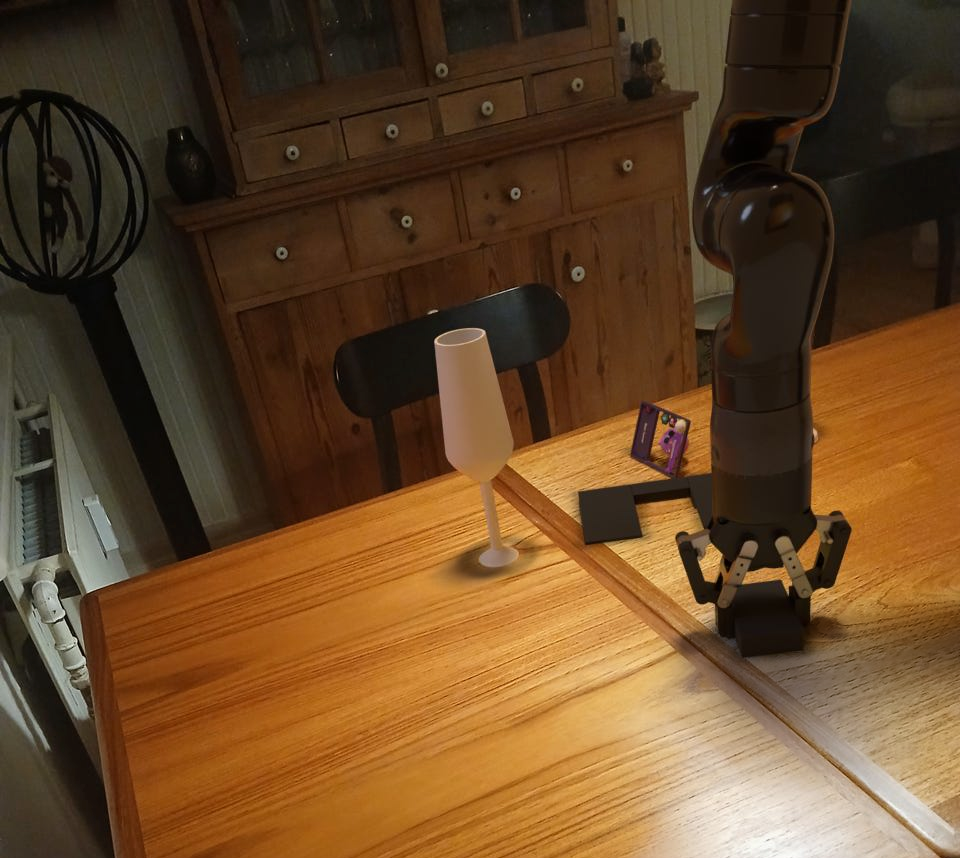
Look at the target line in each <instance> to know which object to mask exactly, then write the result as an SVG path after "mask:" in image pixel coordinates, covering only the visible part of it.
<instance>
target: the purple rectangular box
mask: <svg viewBox="0 0 960 858" xmlns="http://www.w3.org/2000/svg"><path fill="white" fill-rule="evenodd" d="M660 412H661V416H660ZM659 417H660V419H661V420H660V421H661V424H663V425H664V426H667V425H668V428H667V430H666V431H665V432H664V433H663V435H662V436H661V438H660V441H659V442H657V445H658V446H660V448H661V450H662V452H663V453H664V454H665V455H666V456H667V457H669V460H668V464H667V468H664V467H662V466H660V465H658V464H656V463H655V462H652V461H650V458H651V453H652V449H653V446H654V440H655V436H656V430H657V426H658V421H659ZM691 422H692V421H691V419H689V418H687V417H685V416H682V415H680V414H678V413H675V412H673V411H670V410H667V409H665V408H663V407H661V406H658V405H656V404H653V403H651V402H648V401H646V400H641V401H640V405H639V410H638V415H637V420H636V424H635V429H634V434H633V439H632V443H631V448H630V453H629V455H630V457H631V458H633V459H635V460H636V461H638V462H641V463H643V464H644V465H647V466H649V467H650V468H653V469H655V470H656V471H659V472H660V473H663V474H665V475H667V476H668V477H670V478H671V479H672V478H679V475H680V471H681V467H682V461H683V458H684V455H685V454H686V453H687V451H688V450H689V446H690V441H689V438H688V435H689V432H690V428H691V424H692V423H691ZM676 459H677V462H676ZM675 462H676V465H675ZM674 468H675V470H674V472H672V470H673V469H674Z"/></svg>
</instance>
